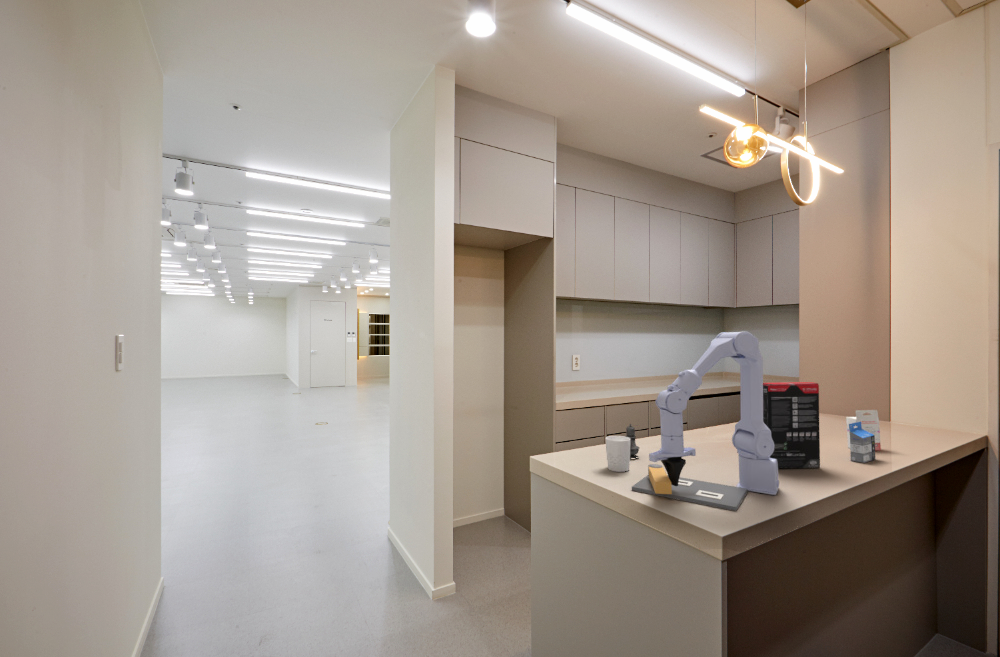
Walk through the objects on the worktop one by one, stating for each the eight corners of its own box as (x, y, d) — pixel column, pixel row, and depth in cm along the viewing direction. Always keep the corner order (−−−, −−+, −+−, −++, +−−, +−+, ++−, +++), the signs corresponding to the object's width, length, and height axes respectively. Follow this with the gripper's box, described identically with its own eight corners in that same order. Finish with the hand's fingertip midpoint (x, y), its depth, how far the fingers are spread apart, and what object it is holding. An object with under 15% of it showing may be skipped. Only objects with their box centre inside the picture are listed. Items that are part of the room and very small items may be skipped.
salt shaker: (637, 460, 151) (636, 425, 151) (620, 458, 154) (619, 424, 154) (641, 456, 156) (640, 422, 156) (625, 454, 159) (624, 421, 159)
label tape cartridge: (864, 463, 142) (862, 425, 142) (849, 461, 145) (848, 424, 145) (876, 459, 146) (874, 422, 146) (862, 457, 149) (860, 421, 150)
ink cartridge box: (869, 447, 162) (867, 407, 162) (881, 450, 157) (879, 410, 157) (846, 448, 162) (845, 408, 162) (857, 451, 157) (856, 410, 157)
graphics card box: (807, 463, 144) (804, 380, 145) (823, 469, 137) (819, 382, 138) (756, 464, 143) (753, 381, 144) (770, 470, 136) (767, 383, 137)
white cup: (622, 464, 146) (621, 434, 146) (636, 471, 139) (635, 439, 139) (601, 467, 144) (600, 436, 144) (615, 473, 136) (614, 441, 137)
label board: (747, 492, 118) (747, 487, 118) (736, 511, 105) (735, 505, 105) (651, 475, 134) (651, 471, 134) (631, 490, 121) (631, 485, 121)
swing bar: (671, 494, 113) (671, 482, 113) (655, 493, 114) (655, 482, 114) (661, 474, 129) (661, 464, 130) (647, 473, 130) (647, 463, 130)
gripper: (681, 429, 125) (682, 477, 124) (640, 434, 119) (642, 484, 119) (700, 434, 118) (702, 484, 118) (659, 439, 113) (661, 492, 112)
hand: (673, 485), depth 118 cm, fingers closed
